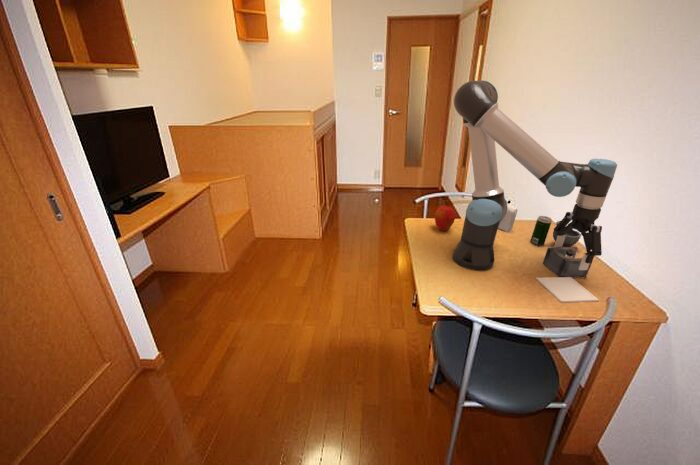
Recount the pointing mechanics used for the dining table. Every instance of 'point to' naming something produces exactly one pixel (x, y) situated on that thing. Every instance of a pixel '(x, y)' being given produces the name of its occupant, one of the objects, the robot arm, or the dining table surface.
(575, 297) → the mat
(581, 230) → the robot arm
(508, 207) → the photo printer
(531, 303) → the dining table surface
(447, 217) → the apple
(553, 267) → the c link
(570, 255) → the stand
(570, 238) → the mortar and pestle
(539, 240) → the beer can
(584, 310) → the dining table surface
